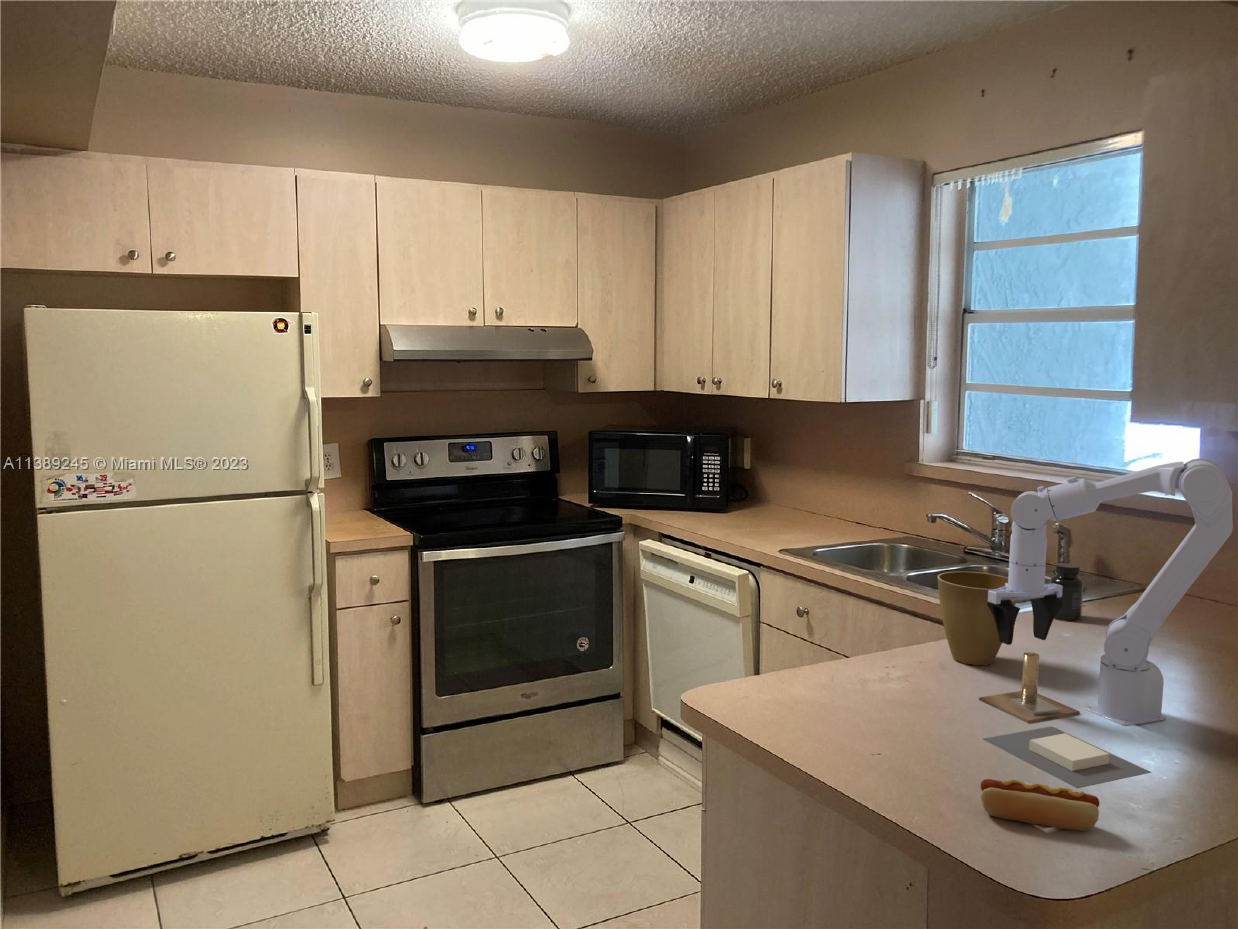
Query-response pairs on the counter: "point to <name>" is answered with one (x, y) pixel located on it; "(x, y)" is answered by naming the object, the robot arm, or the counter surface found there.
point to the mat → (1078, 778)
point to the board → (1004, 705)
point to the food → (1040, 804)
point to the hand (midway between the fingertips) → (1022, 640)
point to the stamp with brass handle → (1032, 689)
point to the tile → (1069, 752)
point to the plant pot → (970, 615)
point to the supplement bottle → (1069, 591)
